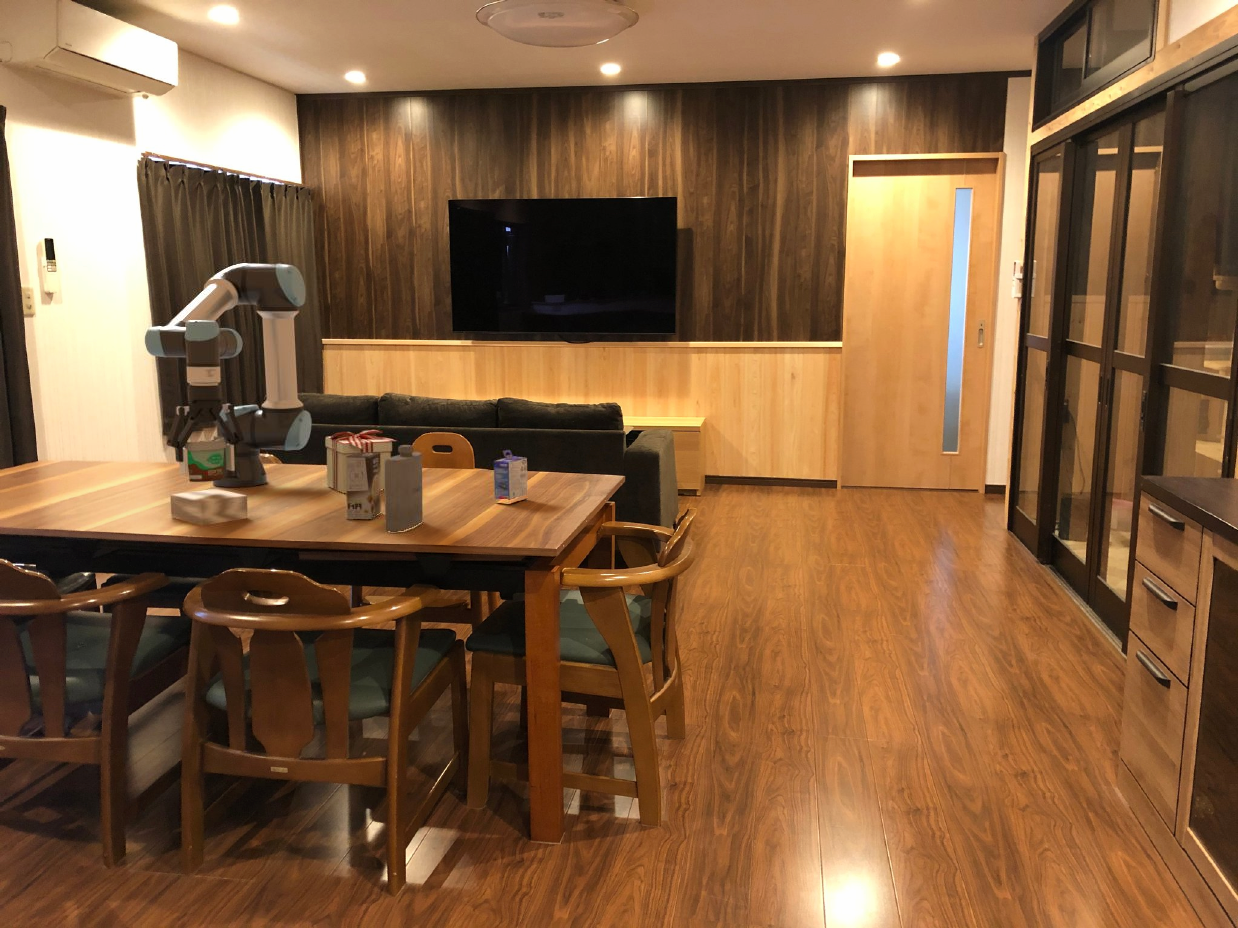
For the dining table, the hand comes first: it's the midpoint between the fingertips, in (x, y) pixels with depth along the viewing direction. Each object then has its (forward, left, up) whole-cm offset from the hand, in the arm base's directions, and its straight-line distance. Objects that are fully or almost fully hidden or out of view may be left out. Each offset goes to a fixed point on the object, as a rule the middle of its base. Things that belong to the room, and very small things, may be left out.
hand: (207, 472), depth 235 cm
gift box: (-51, -8, -12) cm, 53 cm away
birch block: (0, 0, -12) cm, 12 cm away
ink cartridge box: (-69, +36, -12) cm, 79 cm away
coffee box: (-28, +25, -12) cm, 39 cm away
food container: (-1, 0, -2) cm, 3 cm away
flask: (-28, +42, -12) cm, 52 cm away
